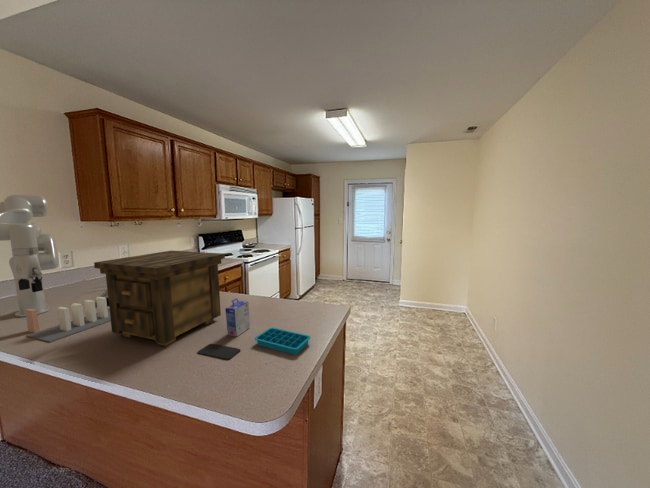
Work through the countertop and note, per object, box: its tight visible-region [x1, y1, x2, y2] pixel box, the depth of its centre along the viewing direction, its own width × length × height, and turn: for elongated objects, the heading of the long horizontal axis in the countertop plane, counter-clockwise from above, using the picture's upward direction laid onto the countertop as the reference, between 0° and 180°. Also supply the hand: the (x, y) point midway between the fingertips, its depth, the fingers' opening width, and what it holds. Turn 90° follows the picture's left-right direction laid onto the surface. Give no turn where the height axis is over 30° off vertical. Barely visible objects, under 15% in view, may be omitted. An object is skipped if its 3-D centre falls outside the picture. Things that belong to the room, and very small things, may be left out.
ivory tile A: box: [95, 296, 108, 318], centre depth 131 cm, size 5×2×10 cm, turn 71°
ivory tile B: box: [83, 299, 97, 322], centre depth 127 cm, size 5×2×10 cm, turn 71°
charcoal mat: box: [26, 308, 111, 343], centre depth 125 cm, size 17×33×1 cm, turn 161°
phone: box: [197, 343, 241, 361], centre depth 99 cm, size 7×1×15 cm
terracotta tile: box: [25, 309, 41, 333], centre depth 117 cm, size 5×2×10 cm, turn 71°
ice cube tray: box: [254, 327, 311, 356], centre depth 104 cm, size 12×20×3 cm, turn 64°
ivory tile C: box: [70, 302, 85, 326], centre depth 122 cm, size 5×2×10 cm, turn 71°
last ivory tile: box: [57, 306, 71, 331], centre depth 117 cm, size 5×2×10 cm, turn 71°
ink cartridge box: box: [224, 297, 251, 337], centre depth 115 cm, size 10×6×14 cm, turn 161°
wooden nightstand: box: [93, 250, 226, 347], centre depth 118 cm, size 35×35×33 cm
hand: (31, 290), depth 116 cm, fingers open, 9 cm apart
